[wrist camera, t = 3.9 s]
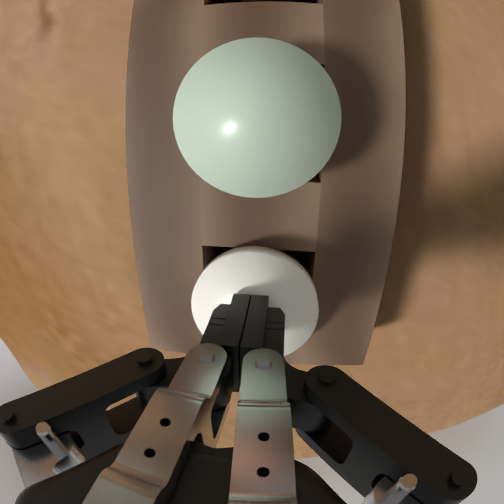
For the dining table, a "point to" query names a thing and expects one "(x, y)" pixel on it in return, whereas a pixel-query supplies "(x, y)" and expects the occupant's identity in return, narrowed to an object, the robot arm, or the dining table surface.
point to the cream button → (260, 289)
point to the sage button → (257, 117)
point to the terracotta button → (263, 0)
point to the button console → (281, 206)
